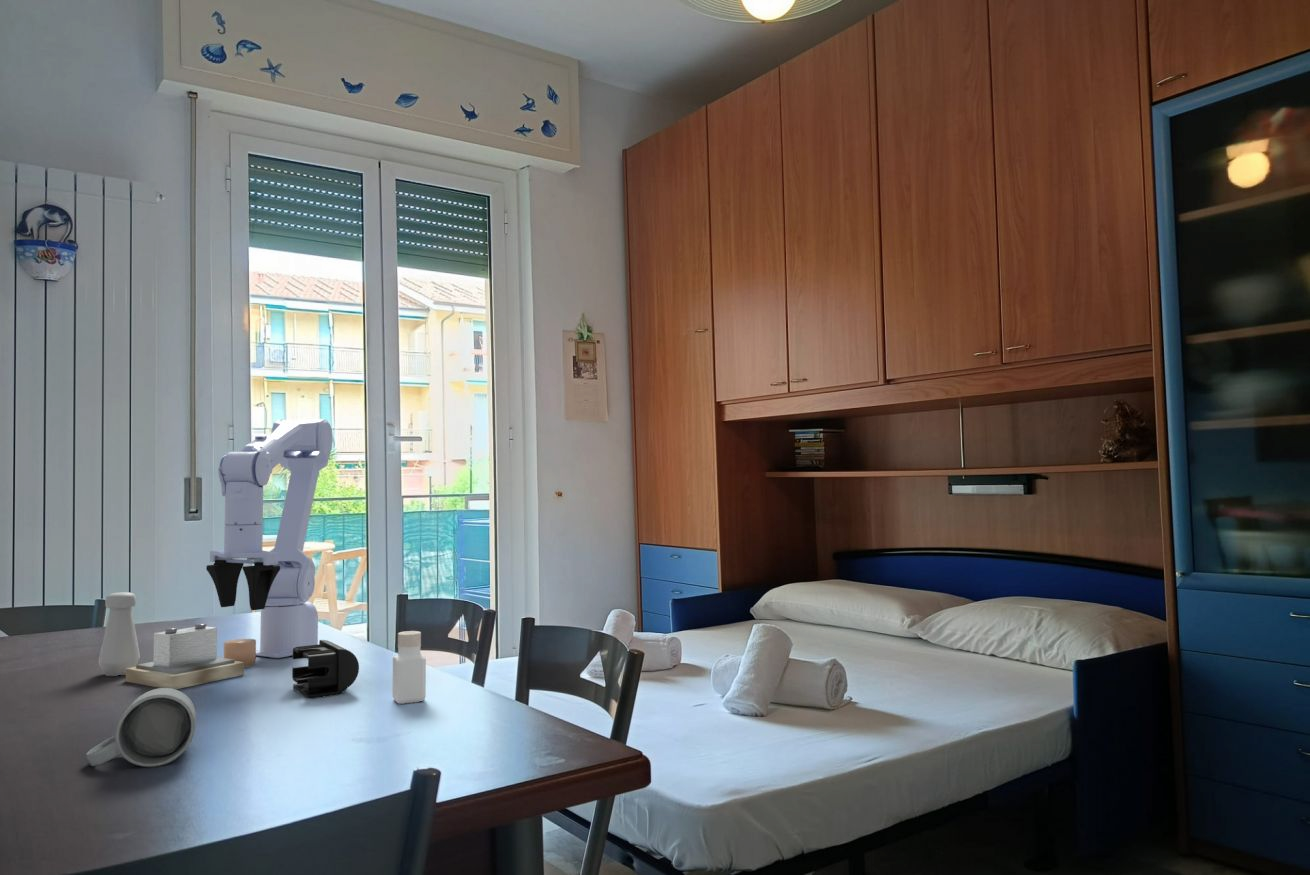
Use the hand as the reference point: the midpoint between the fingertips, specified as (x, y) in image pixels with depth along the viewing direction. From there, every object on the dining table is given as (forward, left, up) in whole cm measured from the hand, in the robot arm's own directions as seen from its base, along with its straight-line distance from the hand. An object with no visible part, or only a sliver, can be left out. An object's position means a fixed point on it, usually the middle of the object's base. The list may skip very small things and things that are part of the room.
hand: (242, 608), depth 148 cm
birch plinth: (+7, -4, -10) cm, 13 cm away
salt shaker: (+10, -17, -11) cm, 22 cm away
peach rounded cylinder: (-4, -6, -10) cm, 13 cm away
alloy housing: (+7, -4, -8) cm, 11 cm away
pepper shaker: (+1, +38, -11) cm, 39 cm away
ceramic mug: (+35, +31, -11) cm, 48 cm away
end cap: (+2, +22, -11) cm, 25 cm away
